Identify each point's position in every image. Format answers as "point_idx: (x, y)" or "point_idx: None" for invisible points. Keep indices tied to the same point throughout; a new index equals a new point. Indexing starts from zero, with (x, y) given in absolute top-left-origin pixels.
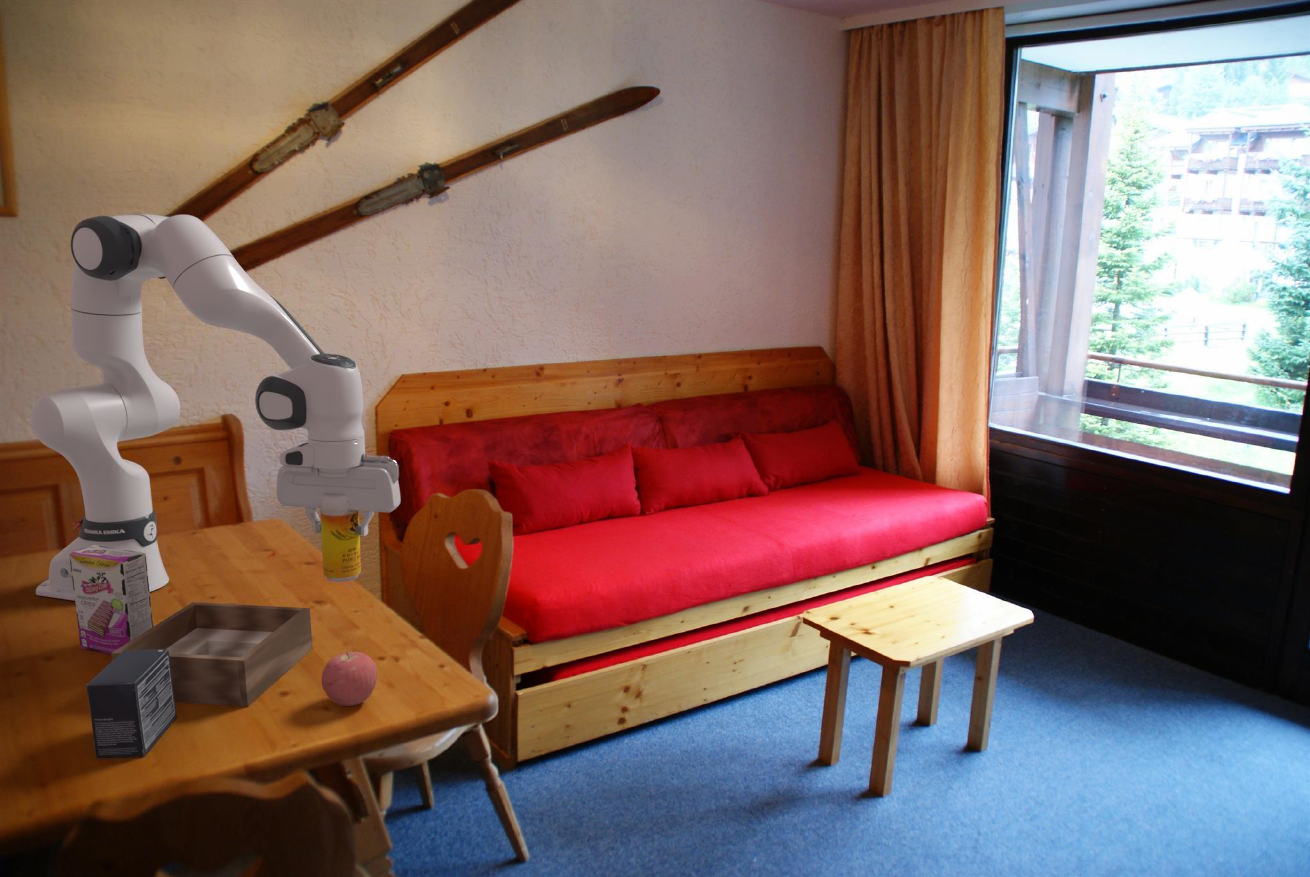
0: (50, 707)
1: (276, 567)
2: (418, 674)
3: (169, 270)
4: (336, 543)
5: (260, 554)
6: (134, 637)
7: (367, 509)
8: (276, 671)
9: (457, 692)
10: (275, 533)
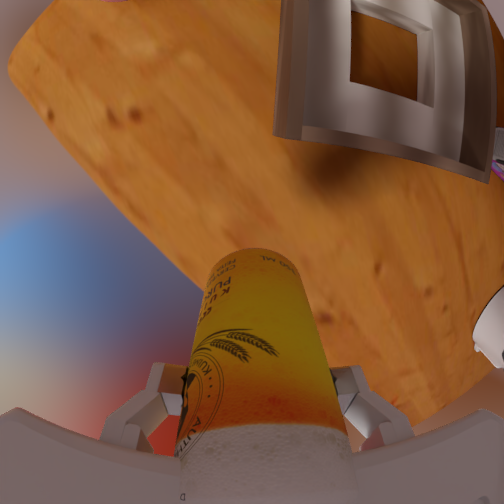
0: None
1: (389, 384)
2: (70, 80)
3: None
4: (248, 315)
5: (403, 399)
6: (500, 132)
7: (85, 442)
8: (282, 13)
9: (26, 57)
10: None
